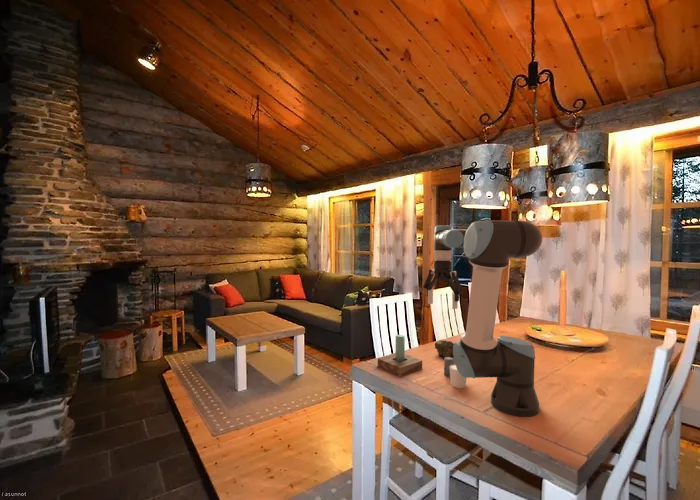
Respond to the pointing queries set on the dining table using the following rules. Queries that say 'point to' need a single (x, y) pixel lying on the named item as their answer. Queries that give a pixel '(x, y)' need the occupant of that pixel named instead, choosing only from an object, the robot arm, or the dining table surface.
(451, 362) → the short dowel
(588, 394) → the dining table surface
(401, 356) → the long dowel
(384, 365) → the hole block
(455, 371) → the shot glass
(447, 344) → the rock
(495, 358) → the robot arm
